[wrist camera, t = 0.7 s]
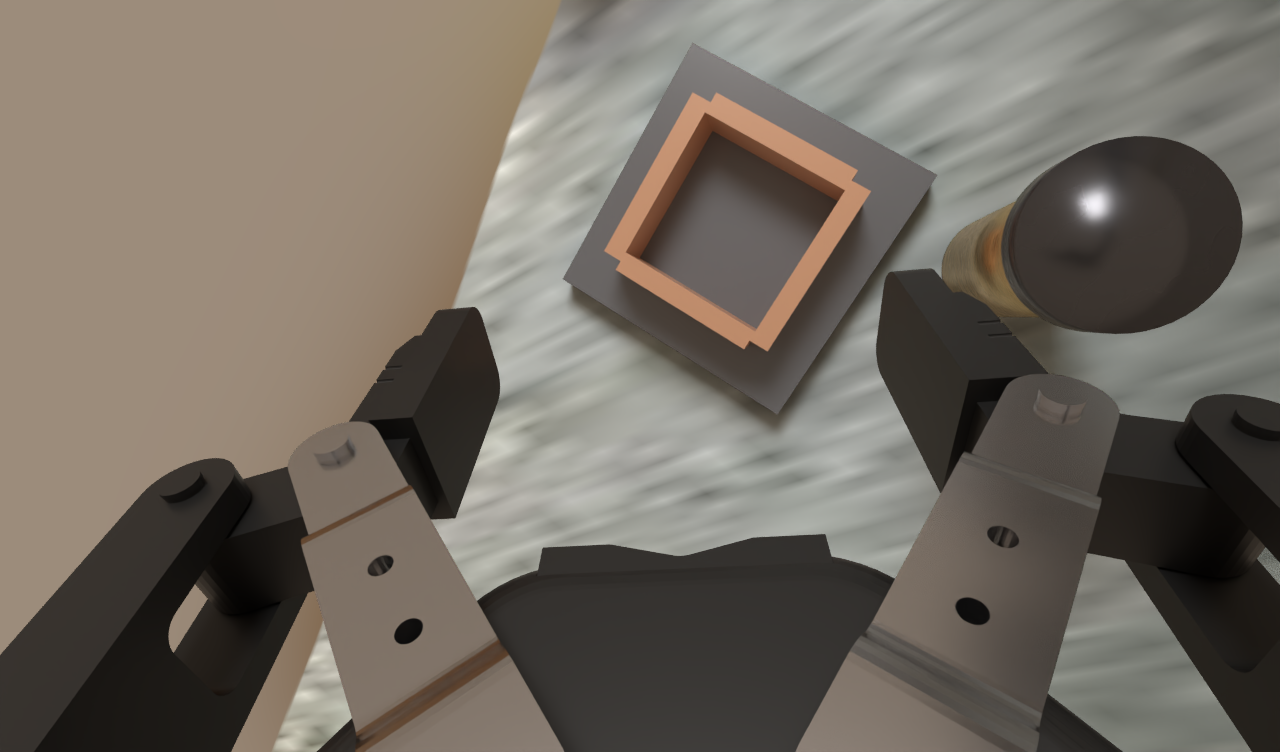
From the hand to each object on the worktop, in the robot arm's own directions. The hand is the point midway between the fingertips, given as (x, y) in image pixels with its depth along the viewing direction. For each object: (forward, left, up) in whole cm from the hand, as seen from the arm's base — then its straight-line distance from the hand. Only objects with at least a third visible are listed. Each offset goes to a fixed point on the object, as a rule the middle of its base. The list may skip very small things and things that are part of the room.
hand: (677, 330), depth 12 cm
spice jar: (-9, +9, -22) cm, 25 cm away
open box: (-4, -3, -22) cm, 22 cm away
